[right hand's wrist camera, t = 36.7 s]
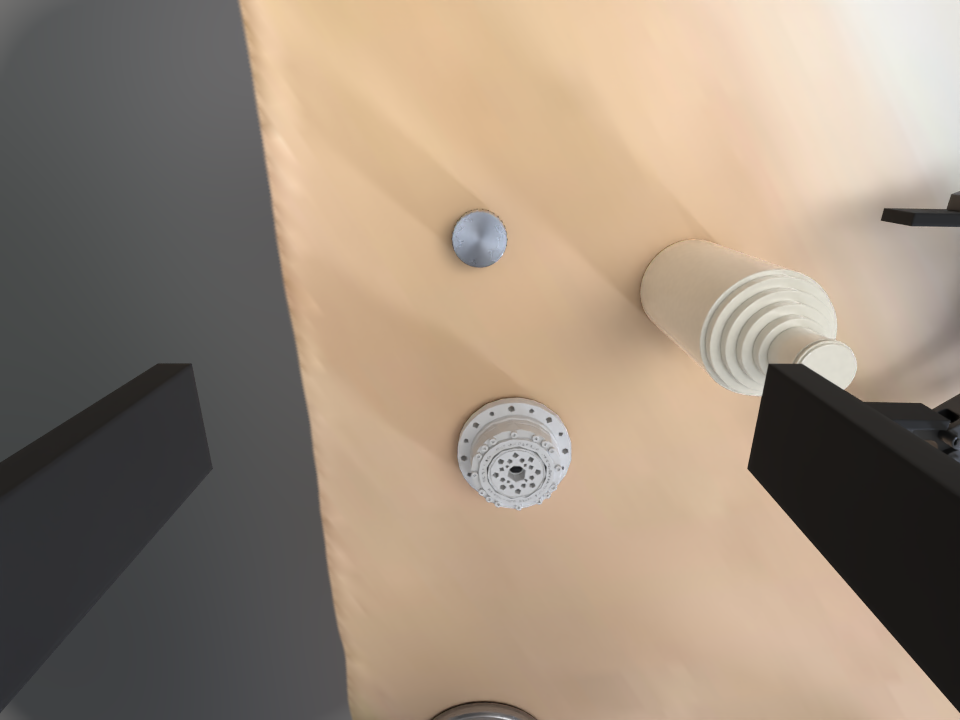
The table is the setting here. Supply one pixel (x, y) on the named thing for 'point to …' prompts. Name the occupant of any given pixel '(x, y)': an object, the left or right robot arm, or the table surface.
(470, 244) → the cap
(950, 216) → the left robot arm
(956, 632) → the right robot arm
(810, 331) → the bottle
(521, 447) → the mechanical component
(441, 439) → the table surface
